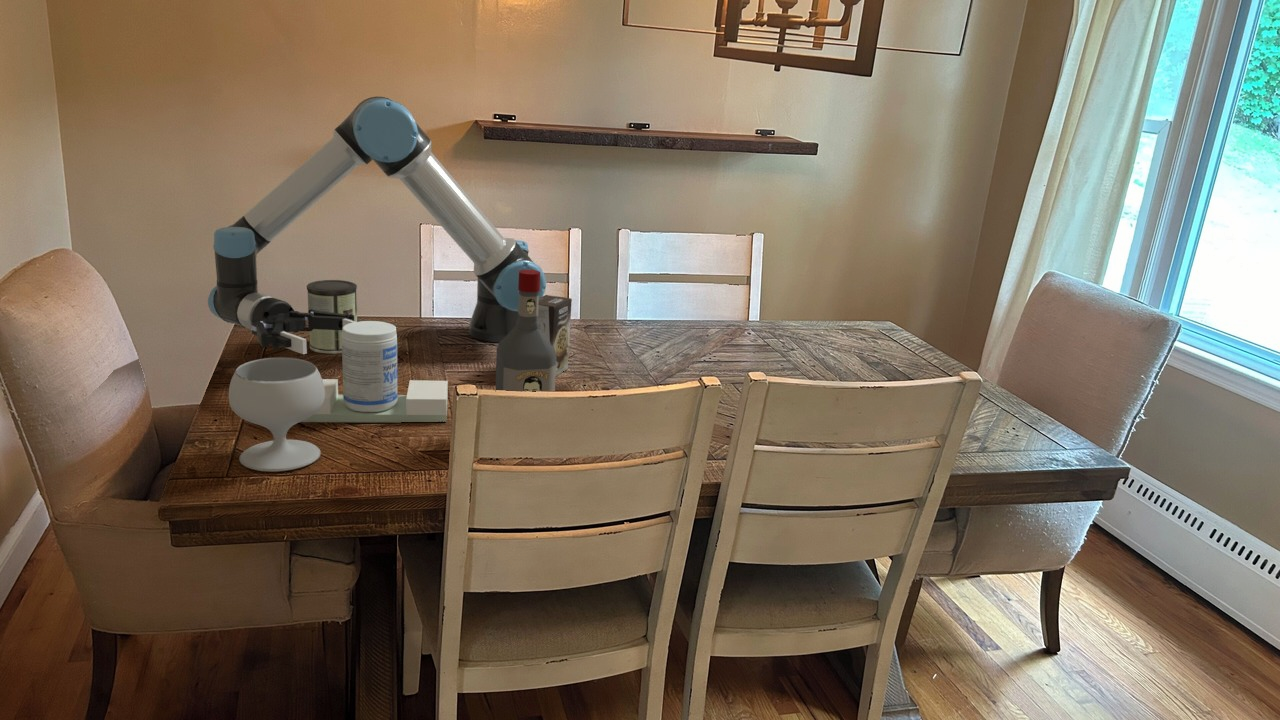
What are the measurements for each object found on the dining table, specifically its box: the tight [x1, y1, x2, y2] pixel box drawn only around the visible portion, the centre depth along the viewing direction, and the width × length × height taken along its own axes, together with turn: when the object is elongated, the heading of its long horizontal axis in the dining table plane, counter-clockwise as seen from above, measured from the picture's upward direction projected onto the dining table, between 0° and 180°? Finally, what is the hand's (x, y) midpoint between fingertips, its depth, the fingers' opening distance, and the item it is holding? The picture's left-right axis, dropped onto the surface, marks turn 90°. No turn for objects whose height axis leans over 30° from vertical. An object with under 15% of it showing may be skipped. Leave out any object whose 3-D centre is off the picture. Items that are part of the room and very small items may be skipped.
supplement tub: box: [341, 320, 398, 412], centre depth 161 cm, size 10×10×15 cm
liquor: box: [495, 270, 557, 392], centre depth 154 cm, size 9×9×30 cm
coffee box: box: [538, 294, 573, 377], centre depth 191 cm, size 9×6×16 cm
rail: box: [300, 378, 449, 423], centre depth 163 cm, size 27×10×4 cm, turn 100°
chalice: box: [228, 357, 325, 473], centre depth 141 cm, size 14×14×15 cm
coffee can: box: [306, 279, 358, 355], centre depth 196 cm, size 10×10×14 cm
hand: (336, 339), depth 166 cm, fingers open, 13 cm apart
